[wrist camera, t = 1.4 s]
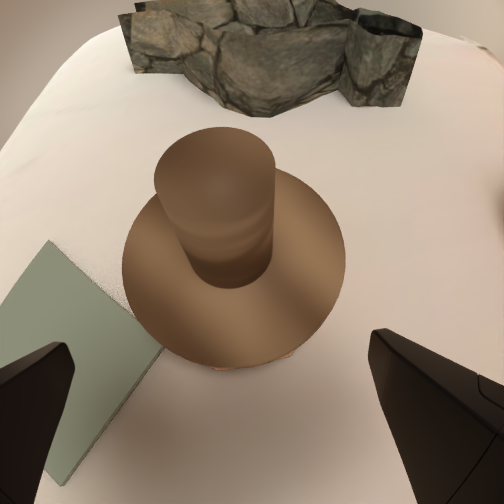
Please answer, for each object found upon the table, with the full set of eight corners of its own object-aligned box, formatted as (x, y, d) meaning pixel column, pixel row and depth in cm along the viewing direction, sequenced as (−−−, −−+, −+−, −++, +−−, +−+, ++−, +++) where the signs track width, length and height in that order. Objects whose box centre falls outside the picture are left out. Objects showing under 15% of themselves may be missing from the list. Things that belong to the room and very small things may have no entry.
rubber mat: (64, 485, 16) (60, 486, 16) (-28, 361, 20) (-32, 360, 20) (167, 344, 22) (164, 342, 21) (51, 242, 26) (48, 239, 25)
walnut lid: (263, 415, 15) (263, 426, 8) (90, 284, 19) (17, 218, 12) (375, 228, 20) (419, 141, 13) (212, 147, 24) (195, 57, 16)
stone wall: (397, 66, 37) (412, 9, 28) (409, 151, 29) (441, 74, 20) (169, 39, 42) (158, -13, 33) (107, 108, 34) (80, 44, 25)
